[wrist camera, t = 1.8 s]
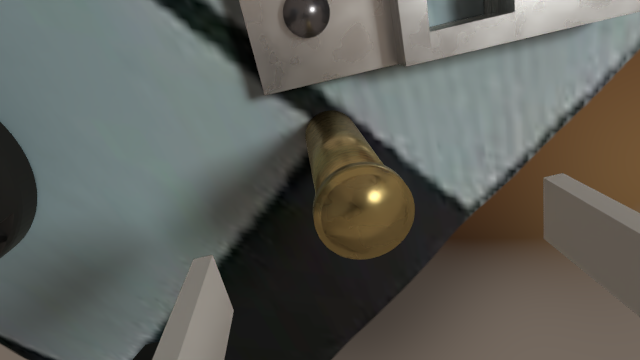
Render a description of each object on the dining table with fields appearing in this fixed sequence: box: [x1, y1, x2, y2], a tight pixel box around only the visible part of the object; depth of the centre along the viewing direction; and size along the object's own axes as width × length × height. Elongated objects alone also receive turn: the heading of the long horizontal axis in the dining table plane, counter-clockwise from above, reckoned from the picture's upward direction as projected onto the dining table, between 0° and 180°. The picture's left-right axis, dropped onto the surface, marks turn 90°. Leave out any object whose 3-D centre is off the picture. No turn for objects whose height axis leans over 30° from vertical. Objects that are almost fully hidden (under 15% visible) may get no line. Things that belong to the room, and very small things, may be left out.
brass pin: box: [305, 111, 415, 259], centre depth 24 cm, size 5×5×14 cm
